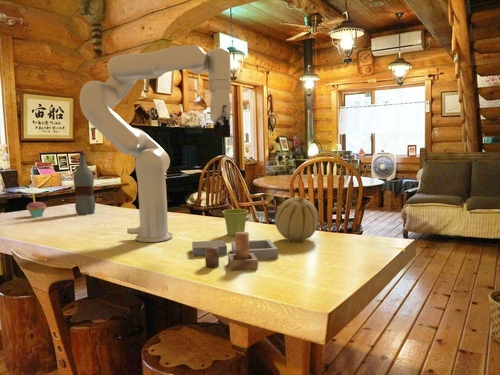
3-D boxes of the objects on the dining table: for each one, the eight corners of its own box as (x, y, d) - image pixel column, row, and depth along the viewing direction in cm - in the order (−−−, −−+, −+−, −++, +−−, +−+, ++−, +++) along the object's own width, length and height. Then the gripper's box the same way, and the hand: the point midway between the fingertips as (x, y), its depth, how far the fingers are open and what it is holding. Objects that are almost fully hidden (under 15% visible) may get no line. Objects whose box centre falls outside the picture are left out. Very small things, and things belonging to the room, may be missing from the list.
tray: (236, 260, 115) (236, 251, 115) (231, 250, 127) (231, 241, 127) (278, 258, 117) (277, 248, 117) (269, 247, 129) (269, 239, 129)
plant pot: (245, 237, 144) (245, 213, 143) (219, 237, 146) (219, 212, 145) (251, 232, 153) (250, 209, 152) (226, 231, 155) (226, 208, 154)
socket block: (231, 270, 106) (230, 261, 106) (228, 263, 113) (228, 254, 113) (257, 269, 107) (257, 259, 107) (253, 261, 114) (253, 252, 114)
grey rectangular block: (193, 258, 120) (192, 248, 120) (192, 251, 128) (192, 241, 128) (226, 256, 122) (226, 246, 122) (224, 249, 130) (224, 240, 130)
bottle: (88, 215, 198) (84, 152, 194) (71, 214, 200) (67, 153, 197) (99, 212, 207) (96, 152, 204) (83, 211, 209) (79, 152, 206)
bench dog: (205, 268, 109) (205, 249, 108) (205, 264, 112) (204, 246, 112) (219, 267, 109) (219, 248, 109) (218, 263, 113) (217, 245, 112)
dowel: (236, 268, 108) (236, 235, 107) (235, 264, 112) (234, 232, 111) (250, 267, 109) (249, 234, 108) (248, 263, 112) (247, 231, 111)
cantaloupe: (290, 233, 149) (290, 192, 147) (326, 239, 140) (326, 195, 138) (266, 241, 138) (265, 197, 136) (303, 248, 128) (303, 200, 127)
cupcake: (41, 217, 193) (39, 192, 192) (23, 217, 194) (21, 192, 192) (50, 214, 202) (48, 190, 201) (33, 214, 202) (31, 190, 201)
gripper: (203, 90, 146) (205, 138, 148) (215, 82, 130) (217, 137, 132) (223, 90, 149) (225, 138, 151) (238, 83, 133) (239, 136, 134)
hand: (221, 137), depth 141 cm, fingers open, 9 cm apart
